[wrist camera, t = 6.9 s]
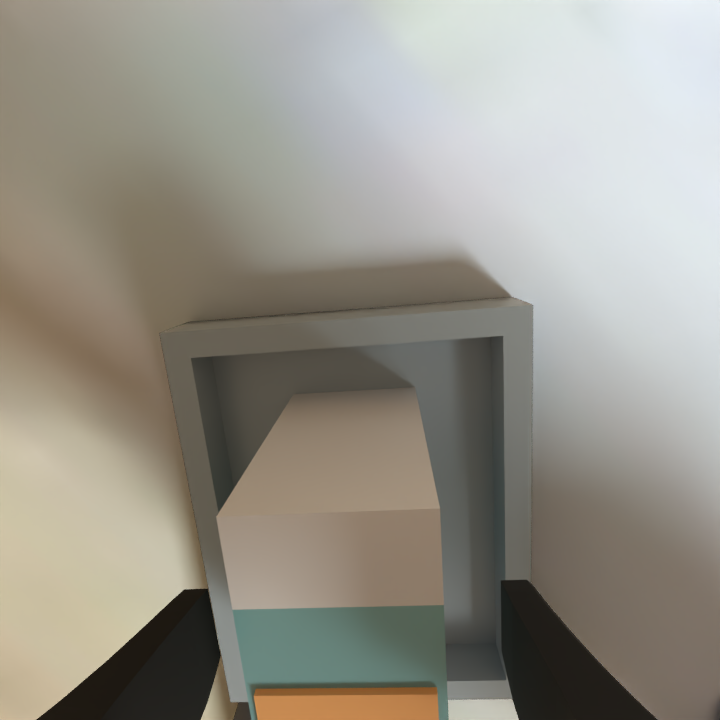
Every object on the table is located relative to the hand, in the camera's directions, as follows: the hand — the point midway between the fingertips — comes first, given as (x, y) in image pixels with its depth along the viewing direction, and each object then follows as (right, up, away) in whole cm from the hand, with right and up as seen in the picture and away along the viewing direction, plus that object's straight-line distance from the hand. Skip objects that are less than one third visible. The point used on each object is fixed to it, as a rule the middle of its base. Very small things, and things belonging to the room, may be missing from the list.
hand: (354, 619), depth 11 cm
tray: (0, +1, +5) cm, 6 cm away
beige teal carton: (0, +1, +5) cm, 5 cm away
